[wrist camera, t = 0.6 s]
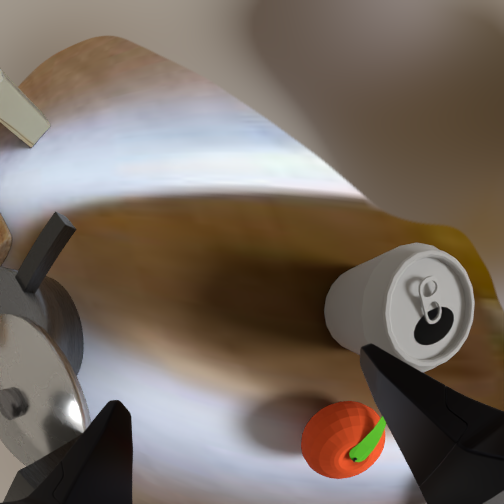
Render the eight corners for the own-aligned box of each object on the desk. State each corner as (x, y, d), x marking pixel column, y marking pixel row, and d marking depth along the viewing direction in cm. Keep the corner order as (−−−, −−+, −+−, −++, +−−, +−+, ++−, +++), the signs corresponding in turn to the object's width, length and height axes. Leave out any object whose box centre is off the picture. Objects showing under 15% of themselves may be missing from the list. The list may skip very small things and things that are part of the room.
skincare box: (22, 131, 30) (-25, 91, 18) (41, 109, 30) (-2, 65, 18) (32, 149, 29) (-22, 106, 17) (53, 125, 29) (3, 76, 18)
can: (336, 363, 23) (393, 405, 11) (310, 283, 25) (351, 263, 13) (407, 331, 23) (493, 340, 12) (383, 256, 25) (460, 219, 13)
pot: (145, 281, 25) (100, 270, 17) (53, 411, 23) (8, 429, 15) (71, 203, 27) (26, 175, 19) (-3, 330, 25) (-47, 329, 17)
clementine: (340, 367, 23) (367, 388, 16) (390, 405, 22) (425, 431, 15) (280, 432, 22) (286, 472, 15) (334, 465, 21) (352, 505, 14)
